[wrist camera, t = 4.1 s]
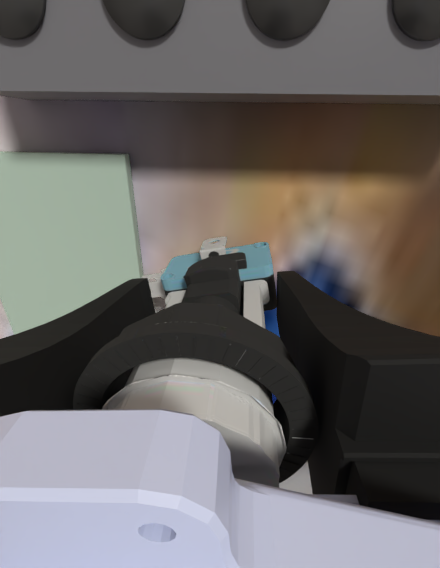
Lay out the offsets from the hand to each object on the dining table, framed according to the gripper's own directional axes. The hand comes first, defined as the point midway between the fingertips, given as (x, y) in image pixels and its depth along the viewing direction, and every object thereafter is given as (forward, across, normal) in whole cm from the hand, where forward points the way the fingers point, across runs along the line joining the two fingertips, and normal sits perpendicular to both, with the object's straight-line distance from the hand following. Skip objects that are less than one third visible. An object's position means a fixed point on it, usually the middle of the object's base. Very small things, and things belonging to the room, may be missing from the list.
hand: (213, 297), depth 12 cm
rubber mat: (+4, +8, -1) cm, 9 cm away
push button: (+3, 0, 0) cm, 3 cm away
